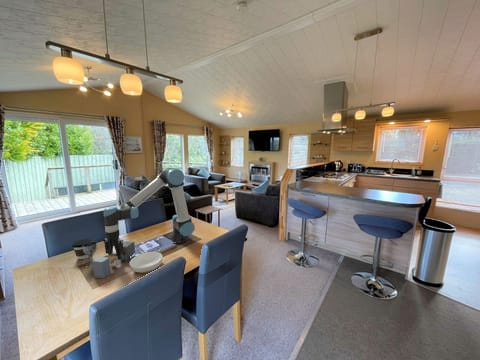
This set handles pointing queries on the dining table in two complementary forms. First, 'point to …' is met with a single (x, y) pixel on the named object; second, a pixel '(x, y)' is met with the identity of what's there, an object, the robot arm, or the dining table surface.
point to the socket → (101, 267)
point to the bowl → (146, 262)
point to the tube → (115, 256)
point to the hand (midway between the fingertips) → (115, 263)
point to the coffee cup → (80, 248)
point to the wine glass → (90, 250)
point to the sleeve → (128, 250)
